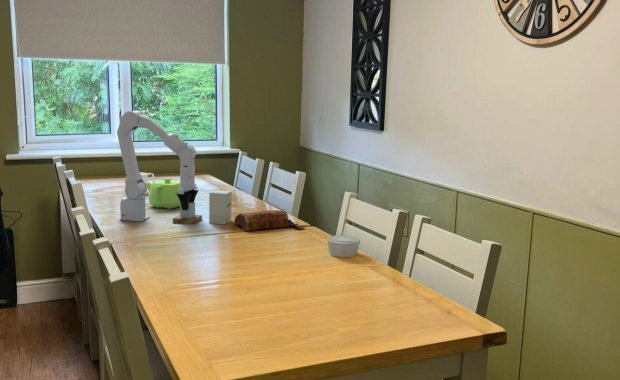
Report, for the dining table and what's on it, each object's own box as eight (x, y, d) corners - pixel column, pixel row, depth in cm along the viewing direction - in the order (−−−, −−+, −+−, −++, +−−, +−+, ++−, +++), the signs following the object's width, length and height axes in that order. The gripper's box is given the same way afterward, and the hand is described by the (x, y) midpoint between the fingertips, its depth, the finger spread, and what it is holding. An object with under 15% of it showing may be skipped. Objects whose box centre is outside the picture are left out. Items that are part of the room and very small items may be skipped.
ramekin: (336, 260, 194) (337, 244, 193) (320, 251, 204) (321, 236, 203) (365, 256, 199) (366, 241, 199) (348, 248, 209) (349, 234, 208)
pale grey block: (180, 217, 241) (180, 204, 240) (185, 215, 245) (184, 202, 244) (190, 218, 240) (190, 204, 239) (195, 215, 244) (195, 202, 243)
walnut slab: (172, 224, 239) (172, 218, 239) (181, 219, 248) (181, 213, 248) (194, 225, 238) (194, 219, 237) (202, 221, 247) (202, 215, 246)
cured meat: (309, 229, 236) (310, 212, 235) (251, 235, 224) (251, 217, 223) (289, 221, 252) (289, 205, 251) (234, 226, 240) (234, 209, 239)
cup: (157, 193, 303) (156, 173, 301) (133, 194, 297) (133, 175, 295) (152, 190, 310) (152, 171, 308) (129, 192, 304) (128, 172, 302)
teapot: (133, 207, 266) (132, 179, 264) (160, 200, 285) (160, 173, 282) (167, 212, 259) (167, 182, 257) (193, 204, 278) (193, 177, 276)
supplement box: (226, 224, 239) (226, 193, 237) (208, 223, 241) (208, 192, 239) (232, 220, 246) (232, 190, 244) (215, 219, 248) (215, 189, 246)
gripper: (190, 178, 232) (190, 212, 234) (203, 173, 246) (203, 206, 248) (173, 177, 233) (173, 211, 236) (187, 173, 247) (187, 205, 250)
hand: (187, 208), depth 242 cm, fingers open, 5 cm apart
